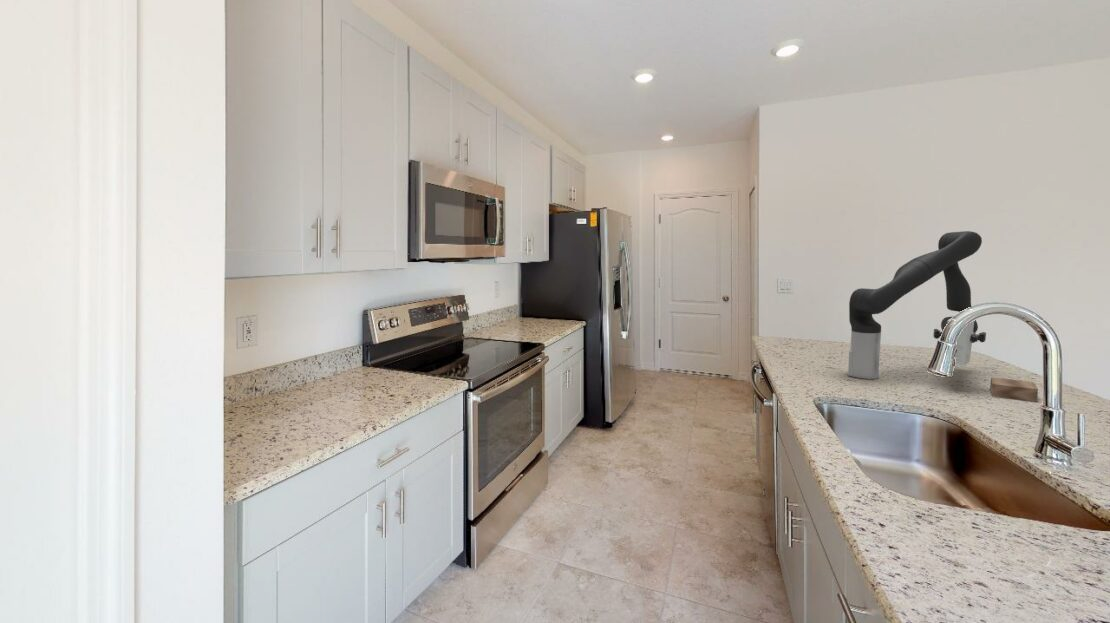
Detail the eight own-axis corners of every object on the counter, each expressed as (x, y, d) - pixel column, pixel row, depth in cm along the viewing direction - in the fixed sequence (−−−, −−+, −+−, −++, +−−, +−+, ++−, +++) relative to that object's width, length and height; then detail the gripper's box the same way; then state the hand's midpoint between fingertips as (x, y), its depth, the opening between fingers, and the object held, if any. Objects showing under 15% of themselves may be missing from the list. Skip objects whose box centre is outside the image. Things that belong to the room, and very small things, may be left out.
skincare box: (948, 359, 158) (951, 316, 157) (971, 361, 154) (975, 318, 152) (942, 363, 153) (945, 319, 151) (966, 366, 149) (970, 321, 147)
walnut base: (991, 396, 146) (992, 383, 145) (990, 388, 153) (991, 377, 153) (1036, 402, 139) (1038, 389, 139) (1032, 394, 147) (1033, 382, 146)
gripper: (933, 319, 167) (931, 325, 155) (987, 322, 158) (989, 329, 146) (932, 339, 168) (930, 347, 156) (985, 344, 159) (987, 352, 146)
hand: (959, 338), depth 151 cm, fingers closed on skincare box, 6 cm apart
